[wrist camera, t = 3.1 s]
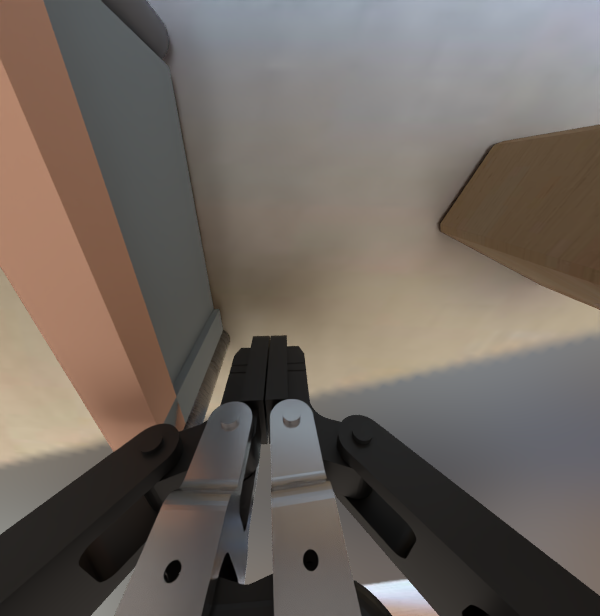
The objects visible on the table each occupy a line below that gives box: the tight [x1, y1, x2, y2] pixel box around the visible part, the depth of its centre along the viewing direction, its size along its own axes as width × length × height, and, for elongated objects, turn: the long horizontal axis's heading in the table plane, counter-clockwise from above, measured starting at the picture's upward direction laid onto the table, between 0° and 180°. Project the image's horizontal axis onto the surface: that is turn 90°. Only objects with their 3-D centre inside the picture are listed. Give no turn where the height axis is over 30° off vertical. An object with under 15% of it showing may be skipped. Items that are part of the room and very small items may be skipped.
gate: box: [0, 0, 223, 452], centre depth 10 cm, size 16×2×9 cm, turn 179°
